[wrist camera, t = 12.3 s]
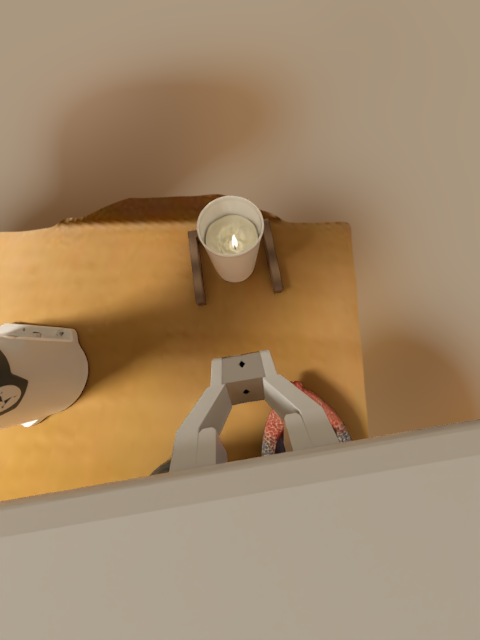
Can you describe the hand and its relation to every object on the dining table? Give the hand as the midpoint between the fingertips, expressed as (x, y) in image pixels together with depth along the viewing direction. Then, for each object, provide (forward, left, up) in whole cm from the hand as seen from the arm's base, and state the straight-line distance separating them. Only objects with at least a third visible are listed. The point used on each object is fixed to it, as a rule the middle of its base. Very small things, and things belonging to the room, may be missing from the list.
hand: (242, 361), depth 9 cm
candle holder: (-7, +17, -25) cm, 31 cm away
